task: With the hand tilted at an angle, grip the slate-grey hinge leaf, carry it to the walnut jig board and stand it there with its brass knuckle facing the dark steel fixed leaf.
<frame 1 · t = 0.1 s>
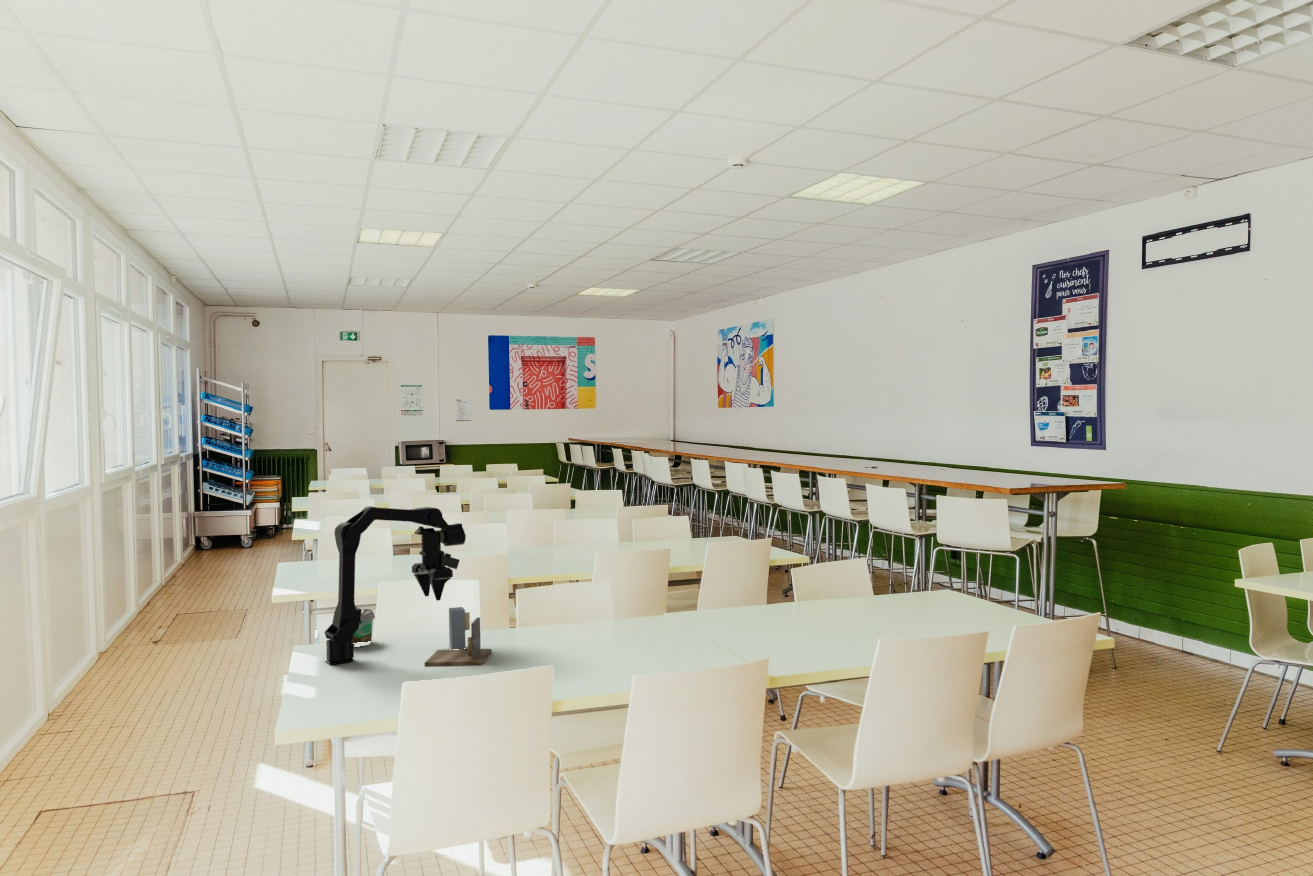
hand: (432, 598, 253), 15 cm above the table, tool pointing down, fingers open, 9 cm apart
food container: (363, 645, 256), on the table
loose hinge leaf: (457, 648, 249), on the table
hinge jig: (453, 659, 236), on the table
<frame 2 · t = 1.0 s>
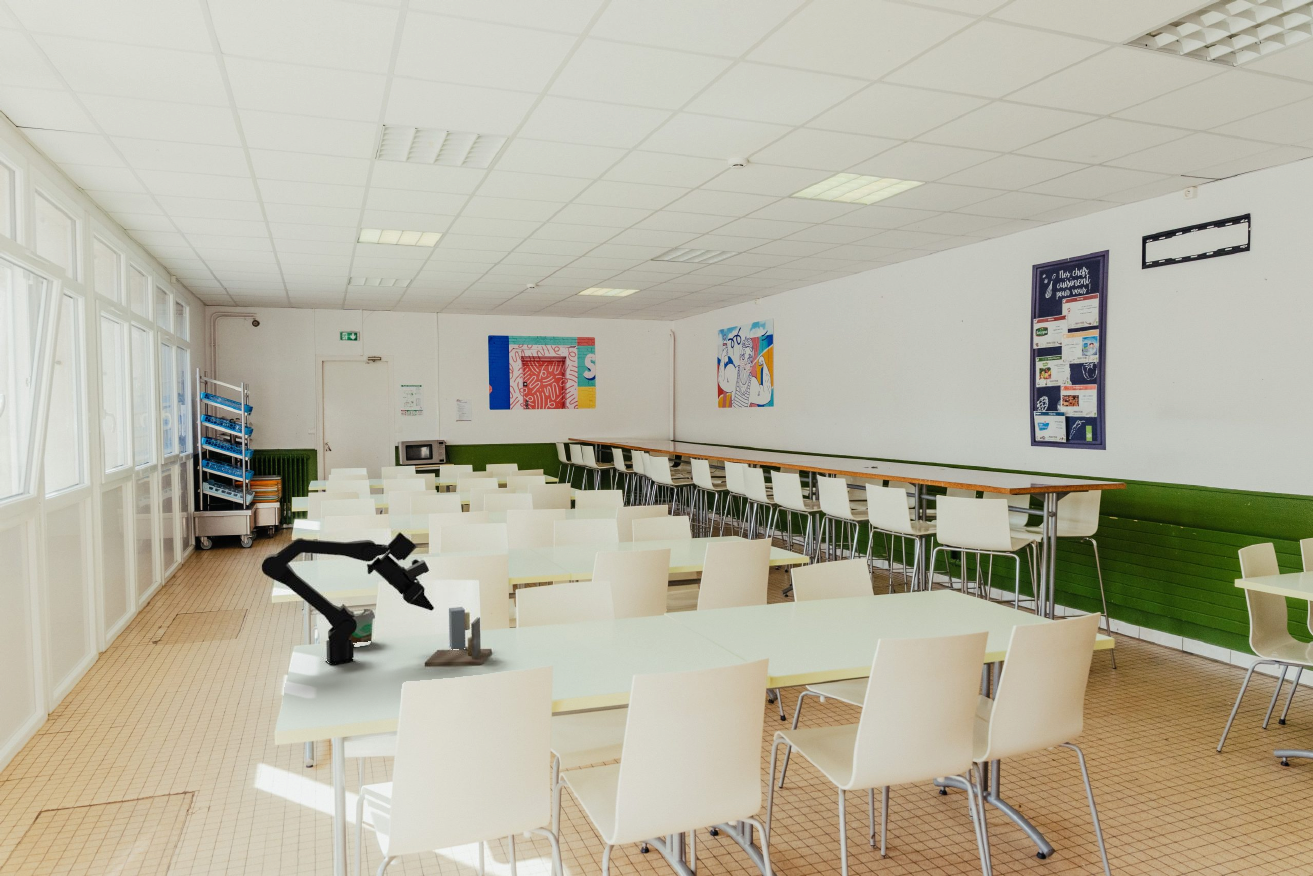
hand: (431, 606, 246), 13 cm above the table, tool tilted 45°, fingers open, 9 cm apart
nothing on the table moved.
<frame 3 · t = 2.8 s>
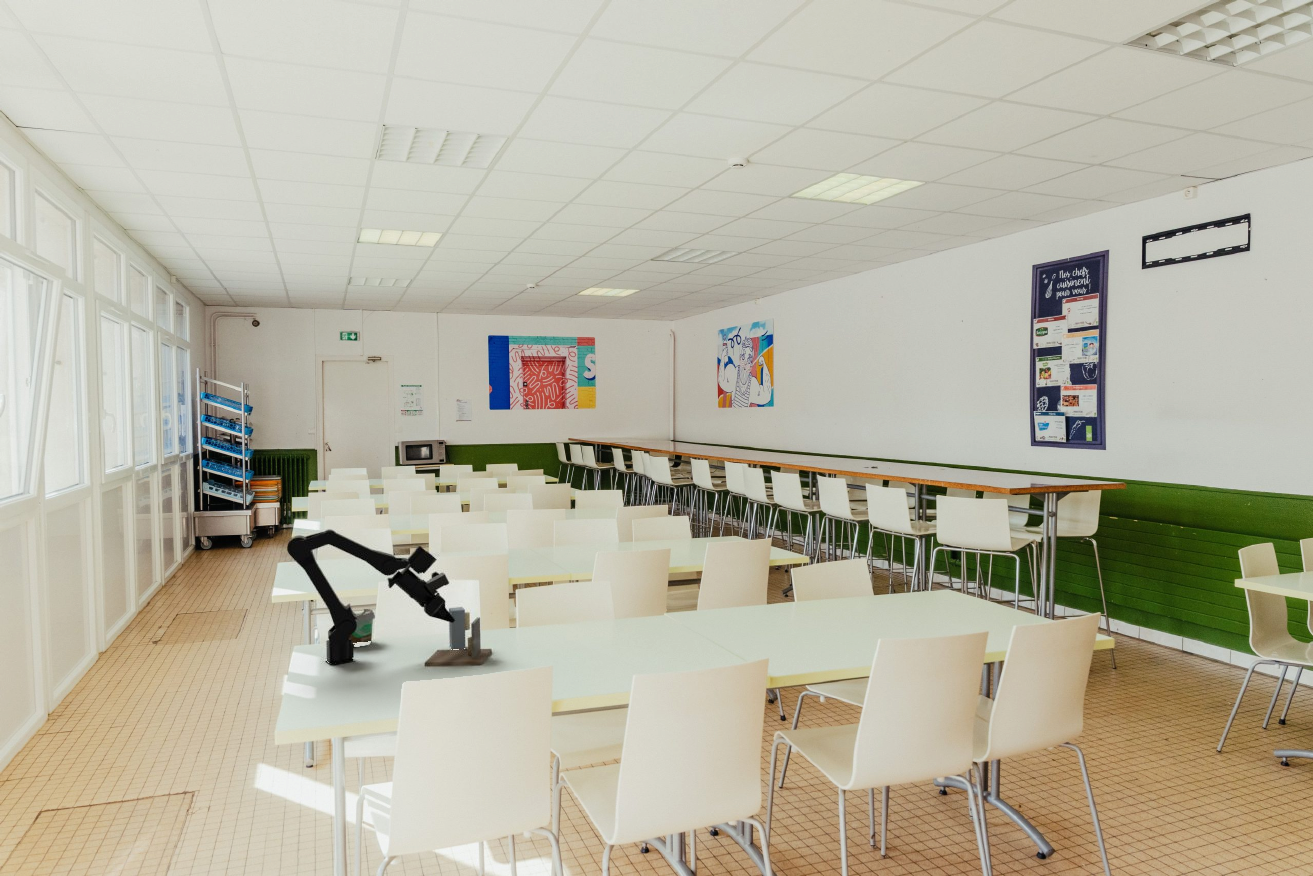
hand: (451, 618, 248), 9 cm above the table, tool tilted 45°, fingers open, 9 cm apart
nothing on the table moved.
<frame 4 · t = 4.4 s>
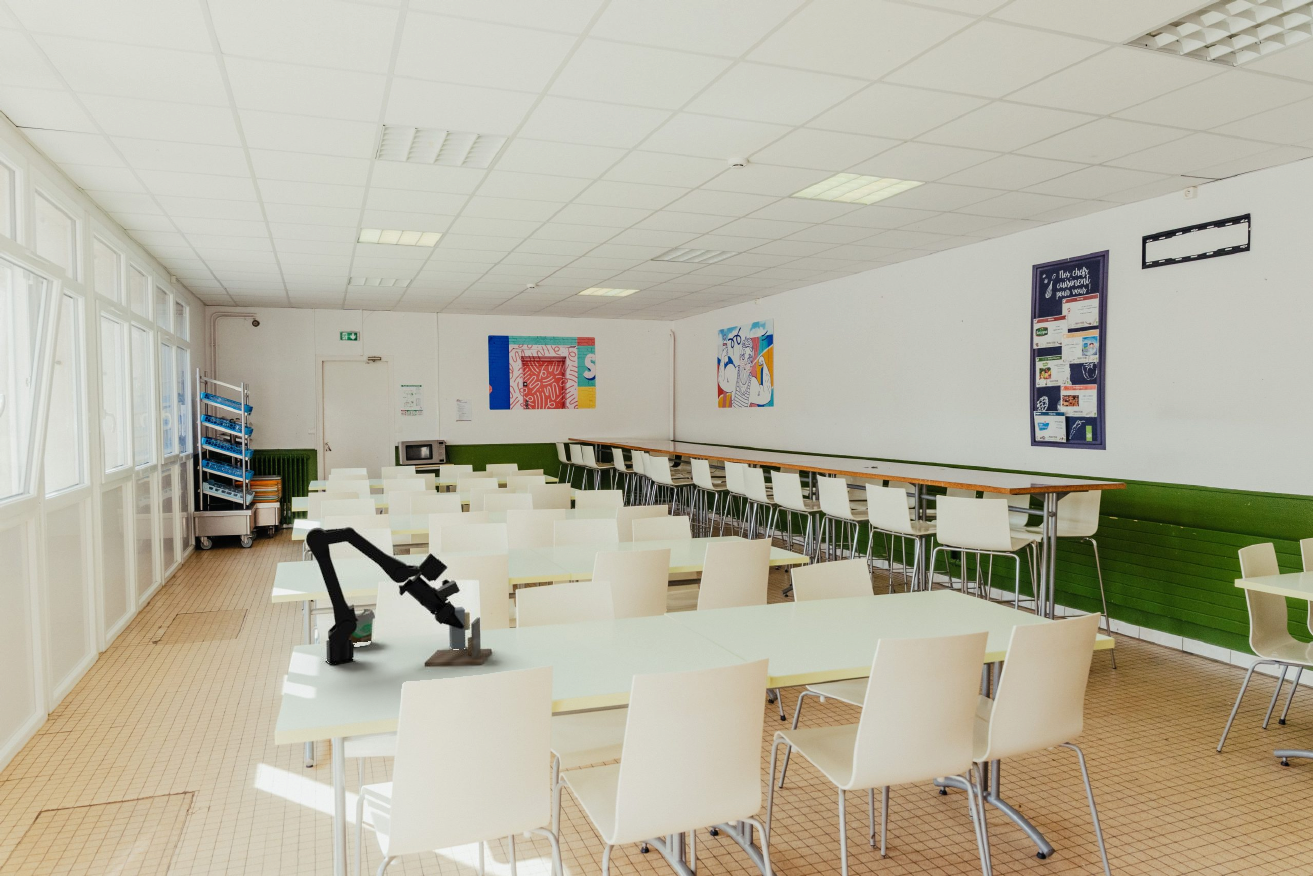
hand: (461, 626, 250), 7 cm above the table, tool tilted 45°, fingers closed on loose hinge leaf, 5 cm apart
loose hinge leaf: (457, 648, 249), on the table, touching gripper
everything else where it was.
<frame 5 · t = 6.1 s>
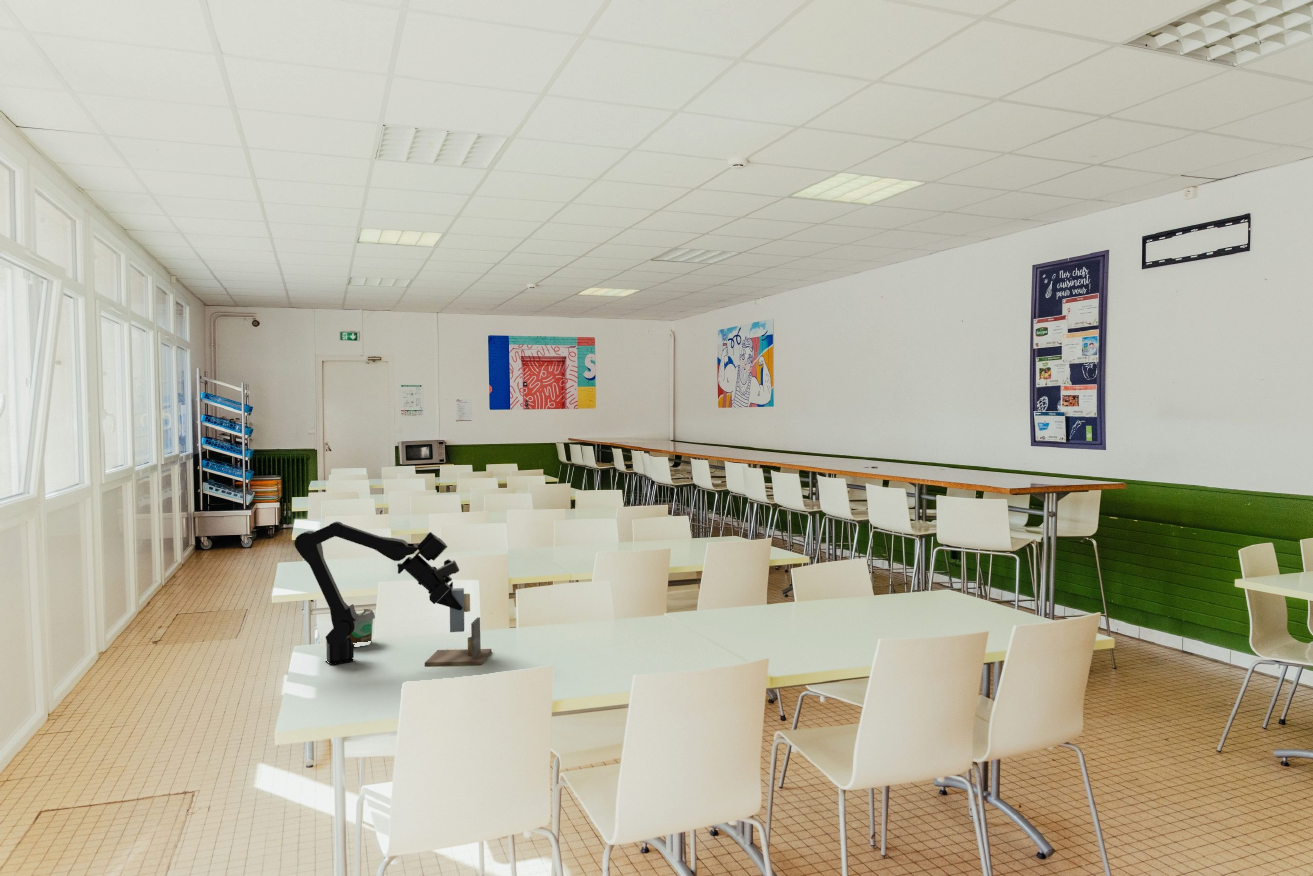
hand: (461, 607, 244), 13 cm above the table, tool tilted 45°, fingers closed on loose hinge leaf, 5 cm apart
loose hinge leaf: (457, 630, 243), point 7 cm above the table, touching gripper
everything else where it was.
when the fingers open (9 cm above the table, at t = 8.0 s): loose hinge leaf drops 1 cm, resting on hinge jig.
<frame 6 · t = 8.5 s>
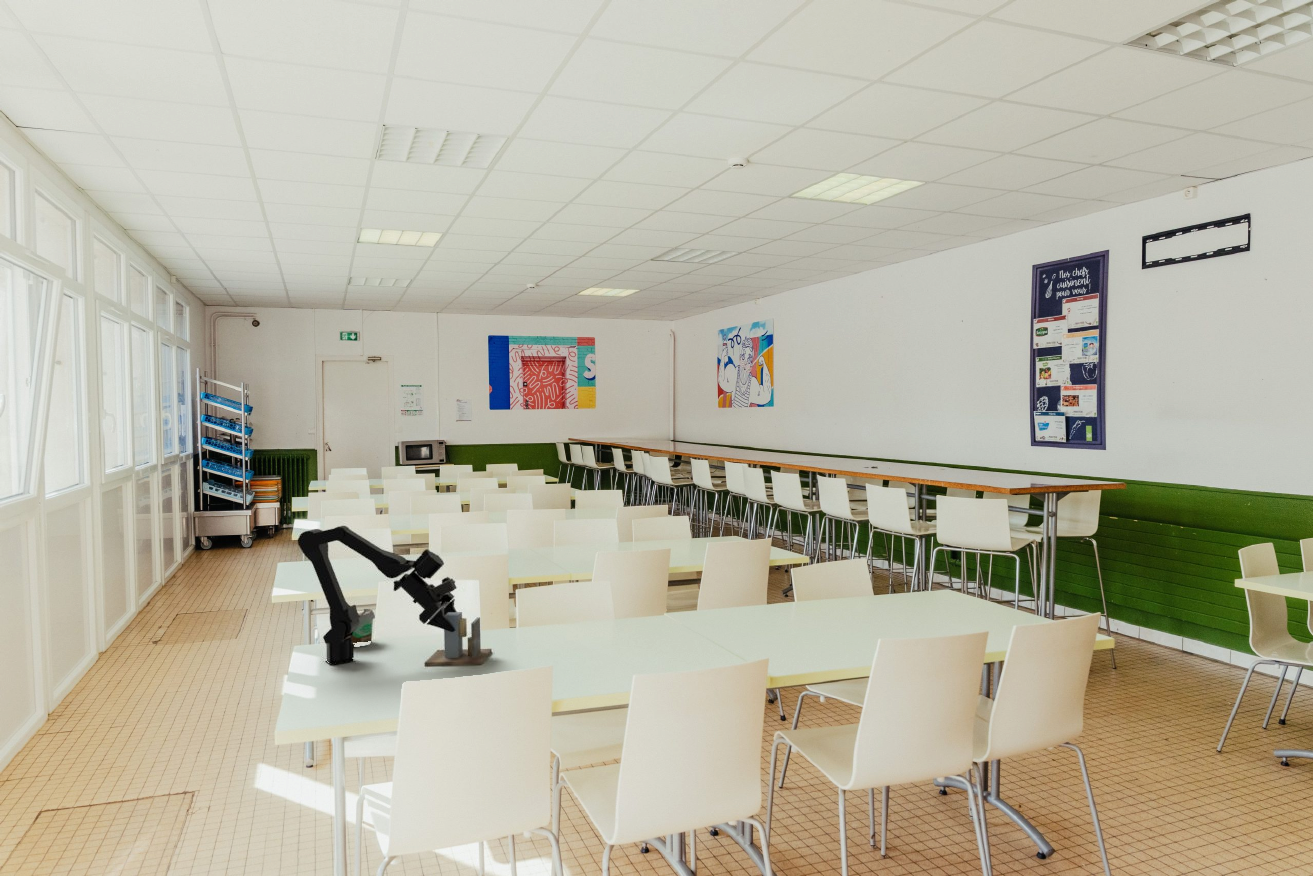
hand: (458, 627, 237), 9 cm above the table, tool tilted 45°, fingers open, 9 cm apart
loose hinge leaf: (453, 655, 236), point 1 cm above the table, touching hinge jig
everything else where it was.
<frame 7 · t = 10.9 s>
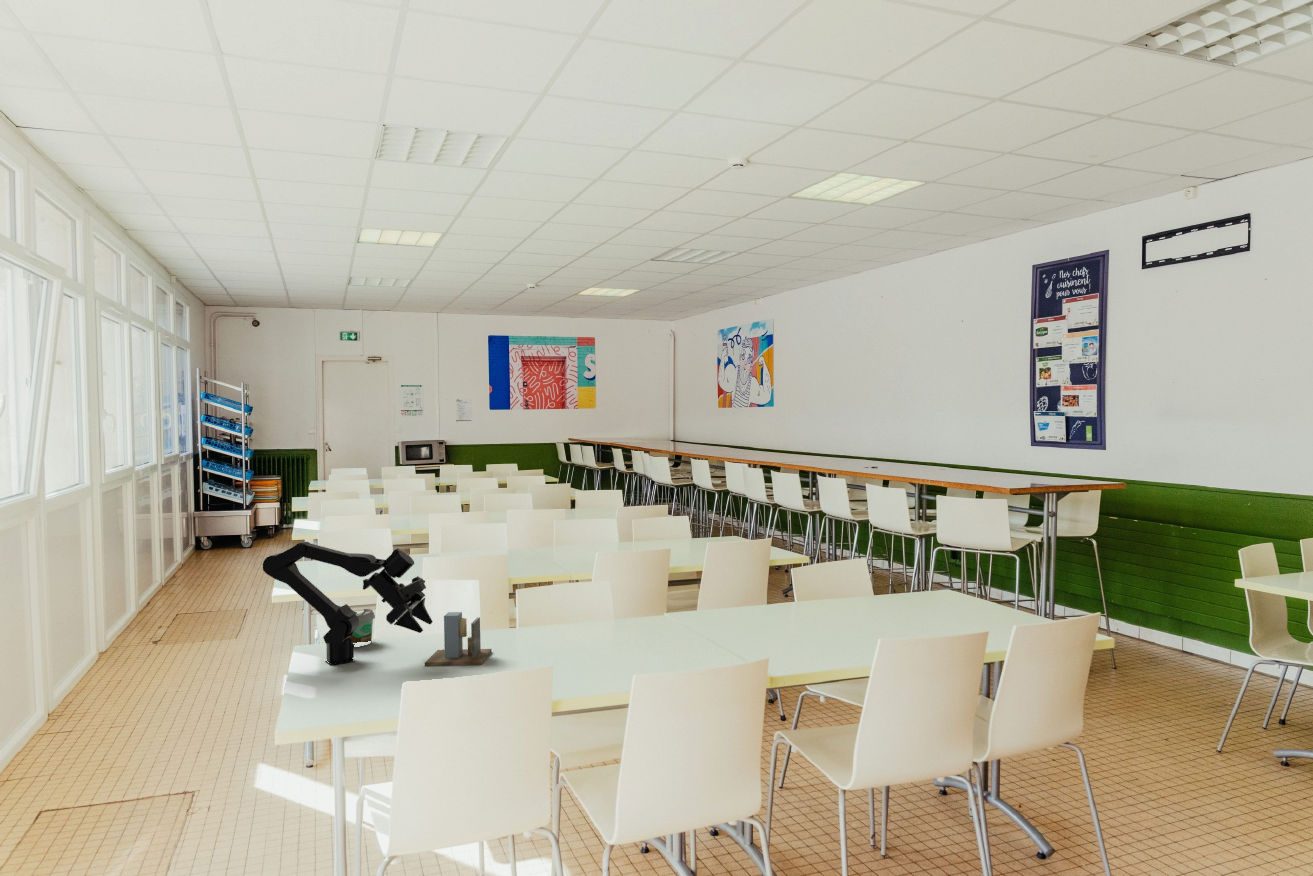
hand: (426, 627, 237), 9 cm above the table, tool tilted 45°, fingers open, 9 cm apart
nothing on the table moved.
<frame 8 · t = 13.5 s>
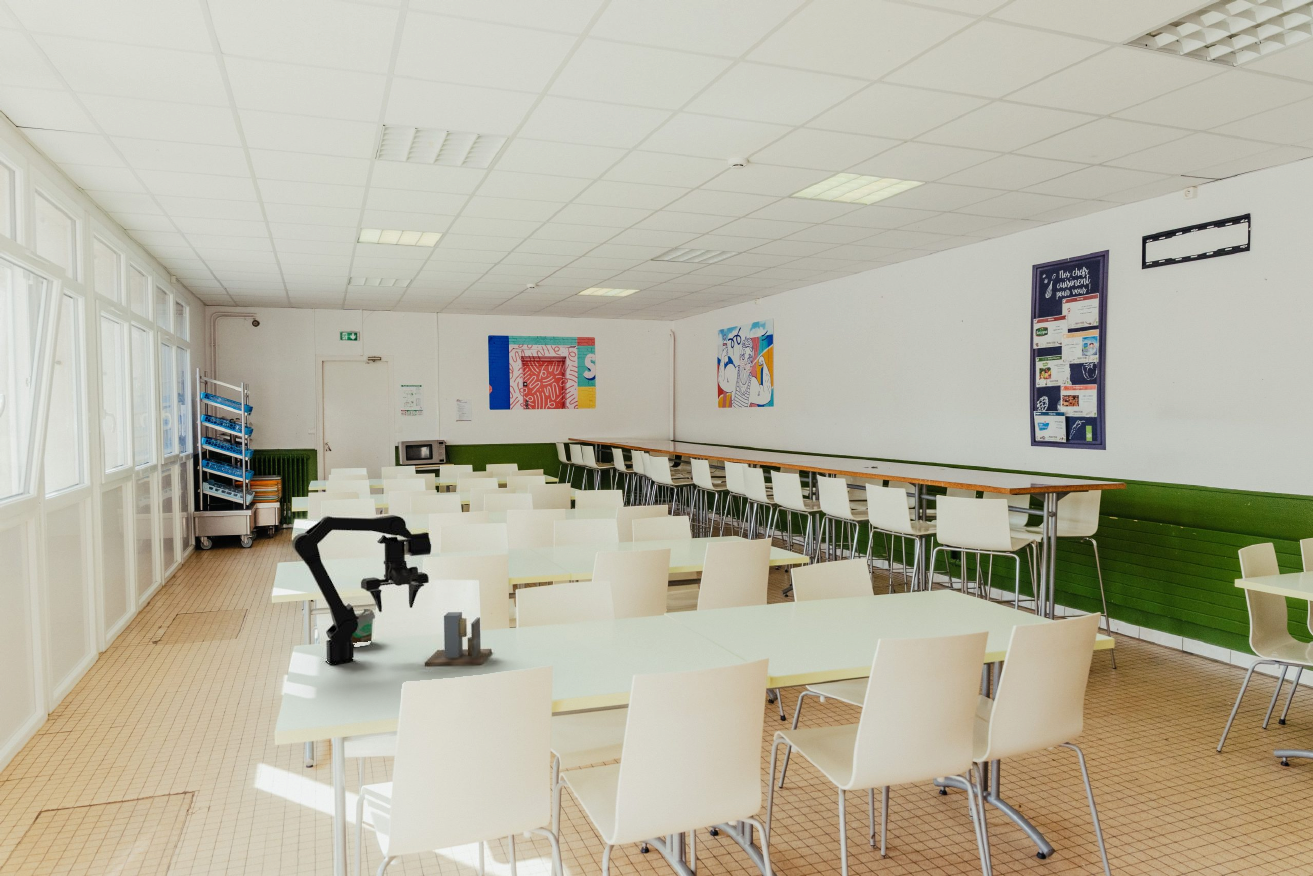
hand: (395, 609, 245), 13 cm above the table, tool pointing down, fingers open, 9 cm apart
nothing on the table moved.
at the end: loose hinge leaf 0.0 cm off-centre on the hinge jig, point 1.0 cm above the hinge jig's base; loose hinge leaf tilted 0°; the gripper is holding nothing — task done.
